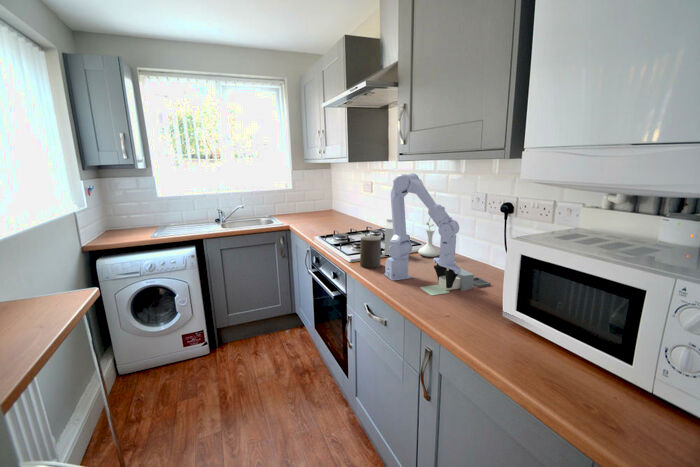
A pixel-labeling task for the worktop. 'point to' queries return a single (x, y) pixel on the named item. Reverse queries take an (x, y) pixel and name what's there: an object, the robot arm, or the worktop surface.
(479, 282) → the tray
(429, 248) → the flower in vase
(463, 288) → the tunnel
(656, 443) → the worktop surface
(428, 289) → the pad
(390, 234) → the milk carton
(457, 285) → the long ivory beam
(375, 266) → the pillar candle
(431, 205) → the robot arm
